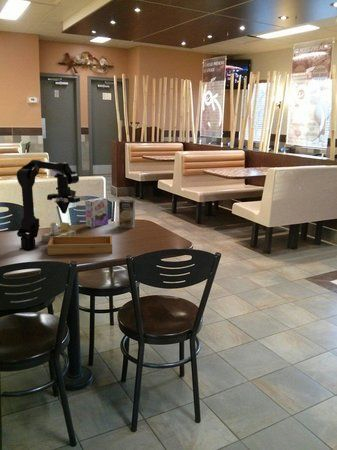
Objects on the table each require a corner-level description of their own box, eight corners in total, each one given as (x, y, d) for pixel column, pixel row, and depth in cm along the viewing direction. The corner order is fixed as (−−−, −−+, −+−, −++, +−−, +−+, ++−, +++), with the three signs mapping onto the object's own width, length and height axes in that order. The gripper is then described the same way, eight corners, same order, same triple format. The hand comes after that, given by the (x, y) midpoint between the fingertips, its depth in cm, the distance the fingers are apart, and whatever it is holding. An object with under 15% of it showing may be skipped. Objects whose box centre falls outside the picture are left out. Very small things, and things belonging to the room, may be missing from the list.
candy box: (92, 228, 245) (91, 201, 241) (85, 226, 248) (84, 200, 244) (108, 223, 255) (108, 198, 251) (102, 222, 259) (101, 197, 255)
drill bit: (55, 241, 217) (54, 225, 214) (49, 240, 218) (48, 224, 216) (60, 239, 220) (59, 223, 218) (54, 238, 222) (53, 222, 220)
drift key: (67, 232, 224) (67, 223, 223) (60, 231, 226) (60, 222, 225) (69, 231, 226) (69, 223, 224) (62, 230, 228) (62, 222, 227)
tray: (112, 245, 213) (111, 234, 211) (112, 254, 198) (112, 243, 197) (52, 247, 208) (51, 236, 207) (47, 256, 194) (47, 245, 193)
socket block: (56, 243, 213) (56, 237, 213) (42, 240, 217) (41, 235, 217) (75, 235, 227) (75, 230, 226) (61, 233, 231) (61, 228, 231)
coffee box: (118, 227, 247) (118, 201, 243) (120, 224, 253) (120, 199, 249) (133, 228, 246) (133, 202, 242) (135, 225, 252) (135, 200, 248)
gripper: (85, 184, 223) (86, 212, 227) (59, 182, 231) (60, 209, 234) (72, 187, 213) (74, 216, 217) (45, 184, 221) (47, 212, 225)
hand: (64, 213), depth 224 cm, fingers closed
